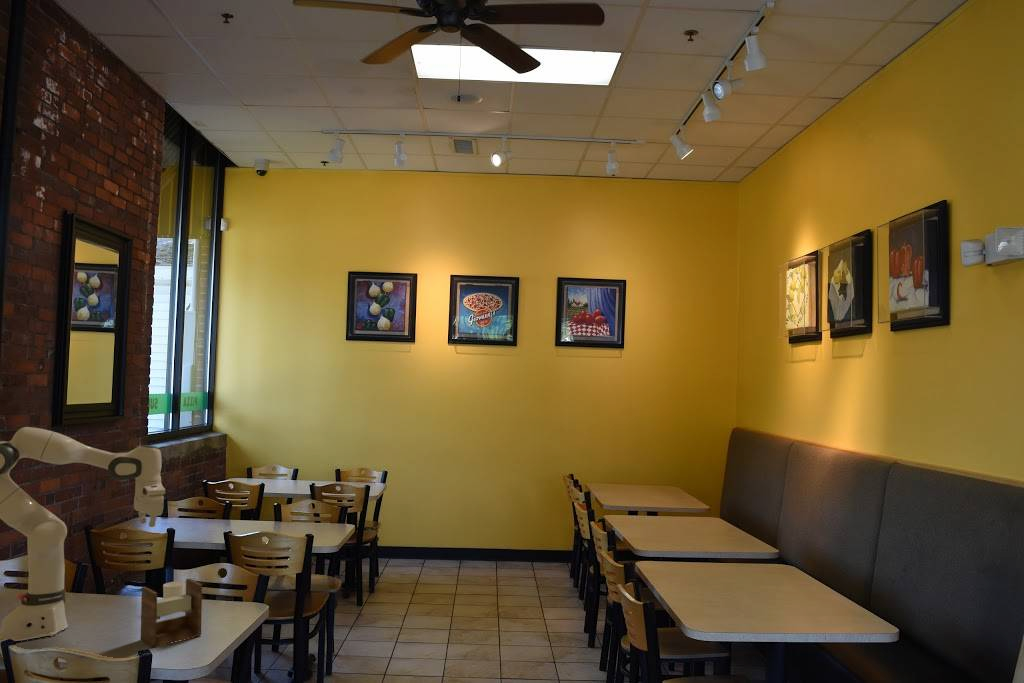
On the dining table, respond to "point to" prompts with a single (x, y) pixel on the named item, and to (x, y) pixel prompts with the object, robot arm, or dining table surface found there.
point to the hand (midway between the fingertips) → (147, 524)
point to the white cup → (173, 589)
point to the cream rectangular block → (173, 605)
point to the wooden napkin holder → (174, 627)
